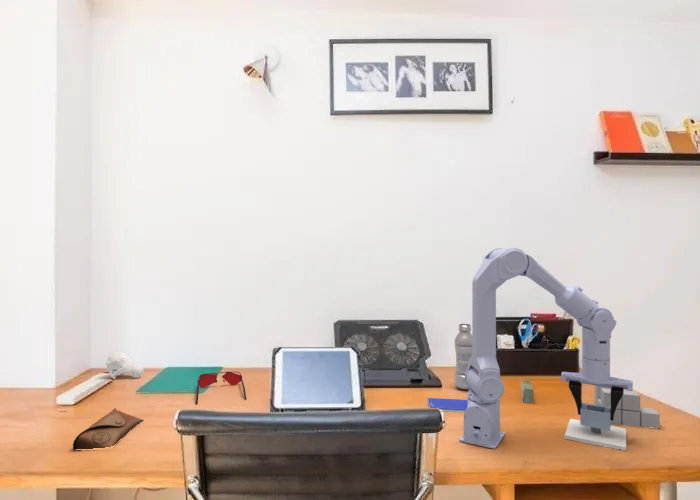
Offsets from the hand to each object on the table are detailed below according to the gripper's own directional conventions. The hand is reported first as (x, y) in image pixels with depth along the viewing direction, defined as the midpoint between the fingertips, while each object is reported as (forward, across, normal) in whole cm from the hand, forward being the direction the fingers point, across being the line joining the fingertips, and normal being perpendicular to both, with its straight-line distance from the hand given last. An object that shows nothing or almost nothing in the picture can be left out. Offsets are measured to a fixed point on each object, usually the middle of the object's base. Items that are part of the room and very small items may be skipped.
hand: (595, 416), depth 104 cm
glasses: (+5, +98, +25) cm, 101 cm away
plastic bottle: (+5, +37, -19) cm, 42 cm away
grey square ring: (+2, 0, 0) cm, 2 cm away
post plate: (+4, 0, 0) cm, 4 cm away
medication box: (+5, +19, -21) cm, 29 cm away
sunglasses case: (+5, +96, +59) cm, 113 cm away
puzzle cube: (+5, -6, -17) cm, 18 cm away
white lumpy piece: (+5, +138, +30) cm, 141 cm away
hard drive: (+5, +35, -1) cm, 36 cm away
